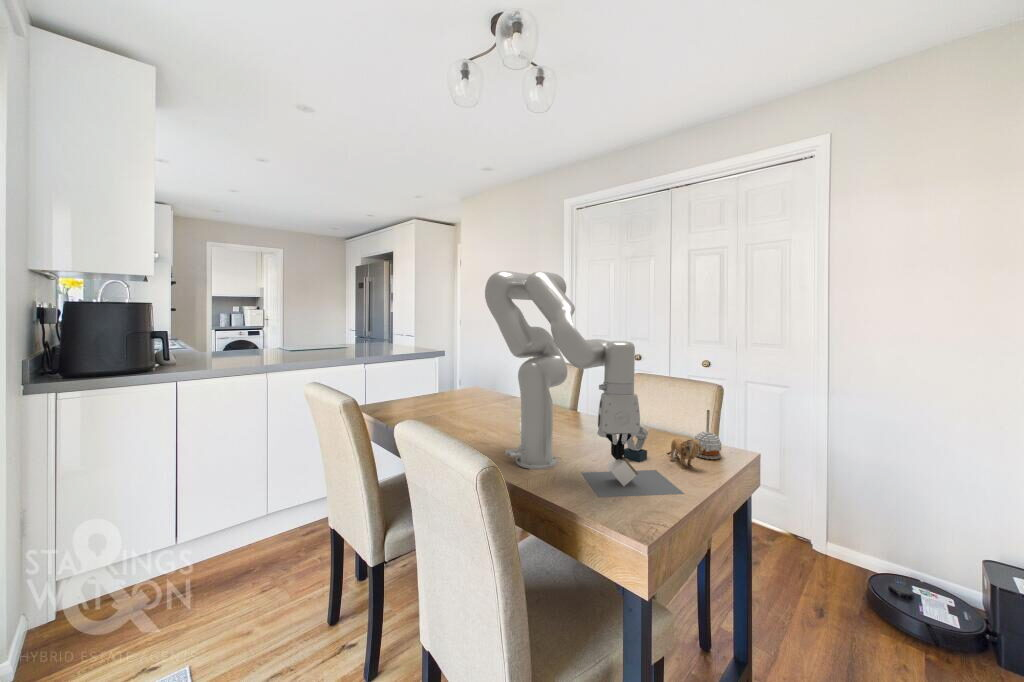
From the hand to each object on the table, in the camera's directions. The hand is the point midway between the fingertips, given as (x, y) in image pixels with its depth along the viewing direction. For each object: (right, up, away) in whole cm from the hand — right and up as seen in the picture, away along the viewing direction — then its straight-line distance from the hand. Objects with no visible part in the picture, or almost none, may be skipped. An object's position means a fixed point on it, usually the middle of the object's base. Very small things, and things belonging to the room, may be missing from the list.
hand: (617, 457), depth 109 cm
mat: (+3, -7, +1) cm, 8 cm away
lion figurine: (+24, -7, +16) cm, 30 cm away
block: (-1, -5, 0) cm, 5 cm away
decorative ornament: (+34, -6, +23) cm, 42 cm away
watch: (+11, -6, +20) cm, 23 cm away
